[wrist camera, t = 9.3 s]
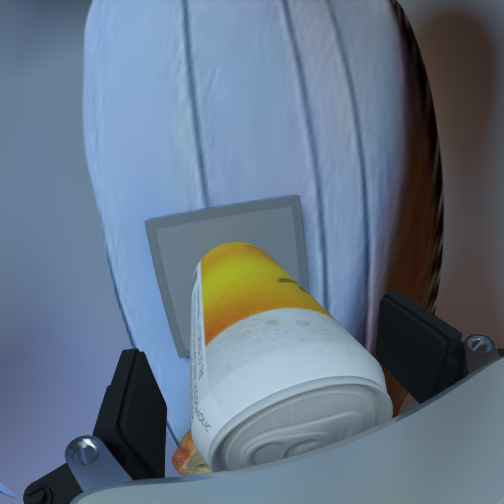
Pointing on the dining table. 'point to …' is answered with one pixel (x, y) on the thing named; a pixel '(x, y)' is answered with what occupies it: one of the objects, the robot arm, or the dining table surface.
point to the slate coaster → (212, 235)
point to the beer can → (272, 365)
